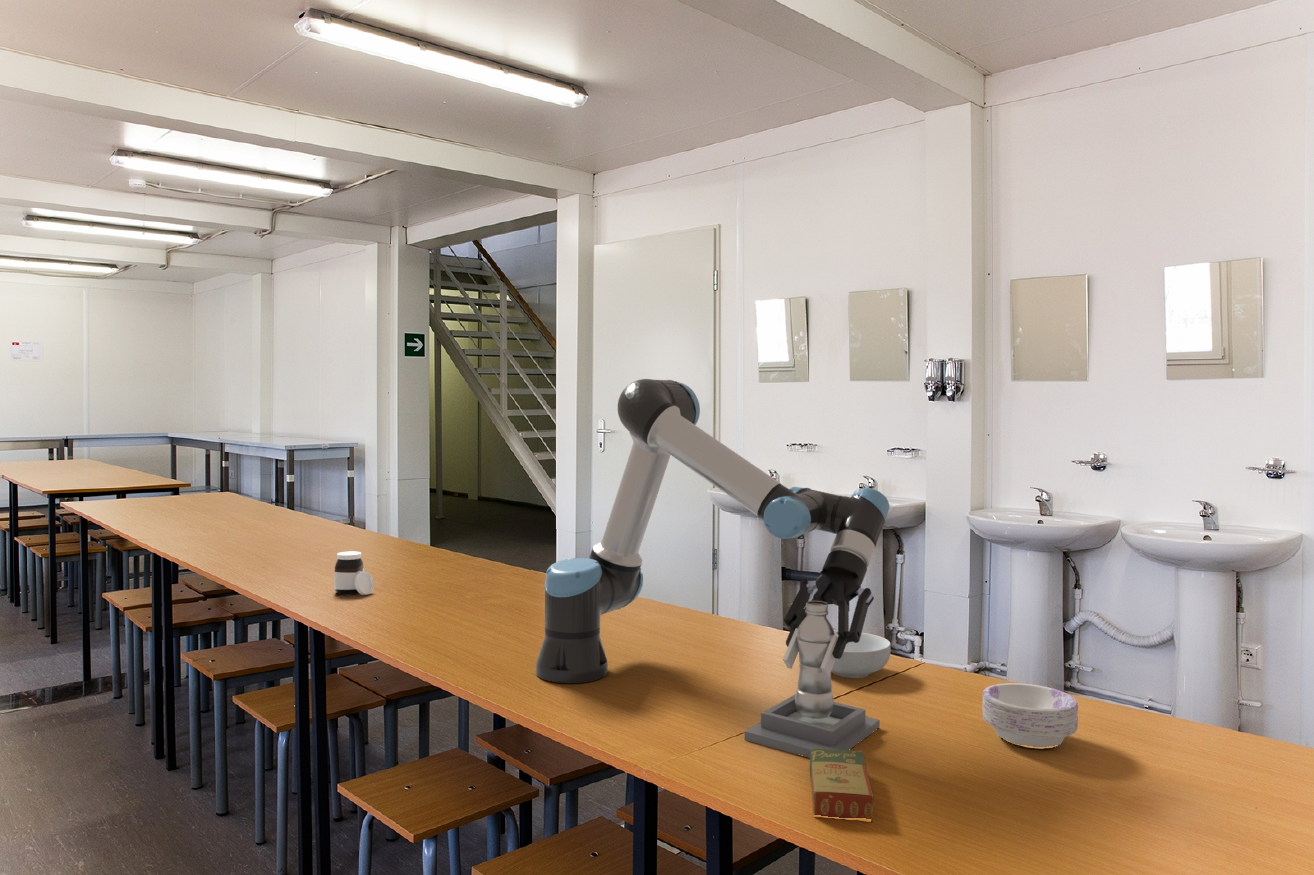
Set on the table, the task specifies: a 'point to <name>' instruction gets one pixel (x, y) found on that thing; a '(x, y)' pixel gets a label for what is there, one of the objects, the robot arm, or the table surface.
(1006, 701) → the paper bowls
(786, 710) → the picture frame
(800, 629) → the plastic bottle
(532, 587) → the table surface
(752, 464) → the robot arm
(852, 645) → the cereal bowl
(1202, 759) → the table surface
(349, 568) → the spread jar
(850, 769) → the carton
